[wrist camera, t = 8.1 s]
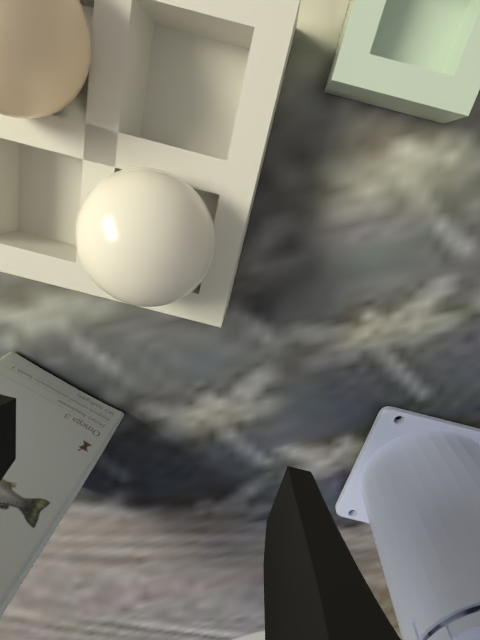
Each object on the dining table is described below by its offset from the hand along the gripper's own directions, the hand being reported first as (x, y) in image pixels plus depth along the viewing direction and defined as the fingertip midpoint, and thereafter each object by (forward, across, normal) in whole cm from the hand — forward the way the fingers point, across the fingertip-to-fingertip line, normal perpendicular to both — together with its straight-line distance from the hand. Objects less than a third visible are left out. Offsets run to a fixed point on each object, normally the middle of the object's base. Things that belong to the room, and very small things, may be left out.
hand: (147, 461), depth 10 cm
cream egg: (+6, +2, -4) cm, 8 cm away
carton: (+10, +5, -7) cm, 13 cm away
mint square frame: (+10, -5, -14) cm, 17 cm away
